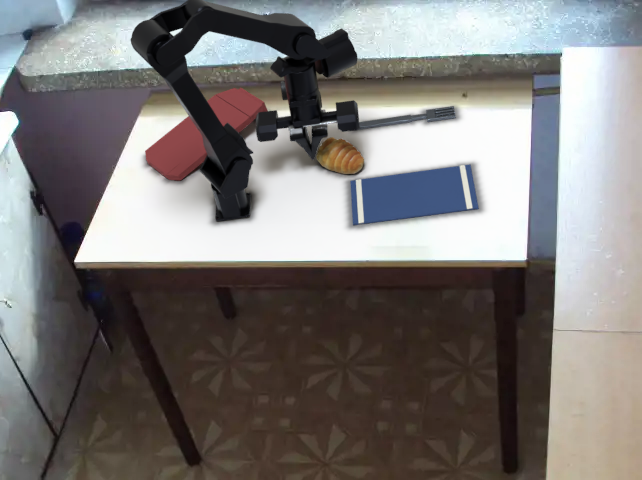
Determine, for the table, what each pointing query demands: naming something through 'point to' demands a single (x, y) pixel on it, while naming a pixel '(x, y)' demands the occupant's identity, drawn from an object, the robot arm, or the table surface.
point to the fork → (412, 118)
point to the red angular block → (187, 142)
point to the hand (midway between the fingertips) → (313, 158)
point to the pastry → (339, 156)
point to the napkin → (413, 194)
